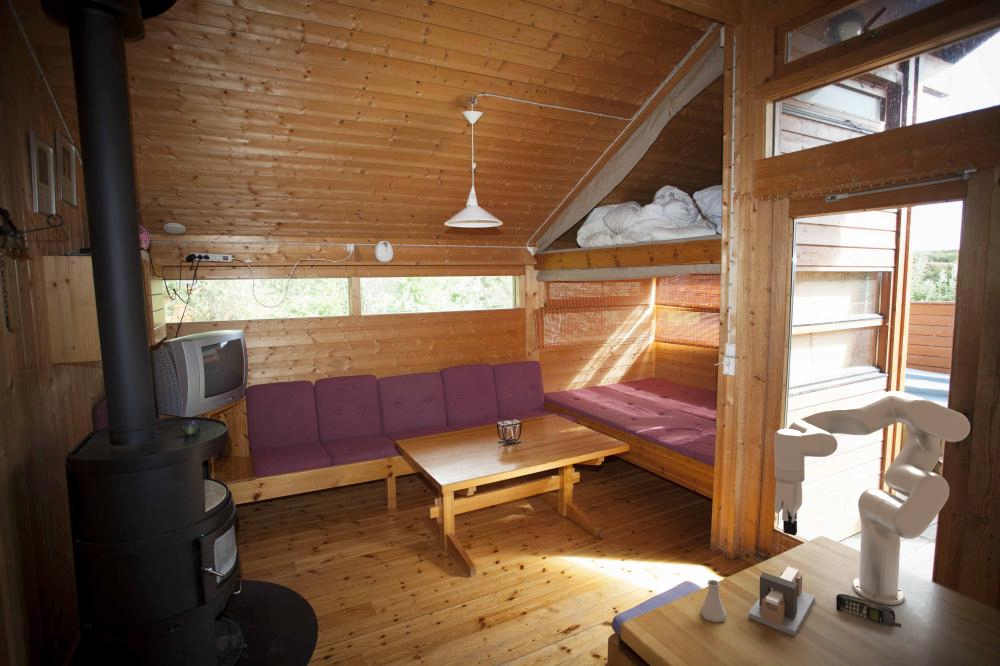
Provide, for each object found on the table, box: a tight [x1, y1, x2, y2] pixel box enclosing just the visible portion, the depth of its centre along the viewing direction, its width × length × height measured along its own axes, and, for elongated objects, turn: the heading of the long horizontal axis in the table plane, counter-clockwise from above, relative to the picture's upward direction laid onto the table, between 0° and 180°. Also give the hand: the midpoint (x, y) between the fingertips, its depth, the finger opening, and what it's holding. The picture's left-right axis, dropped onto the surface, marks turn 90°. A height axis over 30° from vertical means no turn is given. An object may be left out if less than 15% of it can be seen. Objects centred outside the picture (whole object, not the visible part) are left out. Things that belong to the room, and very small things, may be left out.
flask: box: [699, 579, 728, 623], centre depth 154 cm, size 7×7×10 cm
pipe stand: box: [748, 566, 816, 637], centre depth 155 cm, size 20×12×8 cm, turn 136°
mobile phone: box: [835, 593, 902, 627], centre depth 150 cm, size 5×3×15 cm
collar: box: [759, 571, 798, 619], centre depth 152 cm, size 3×9×9 cm, turn 46°
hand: (790, 533), depth 155 cm, fingers closed
